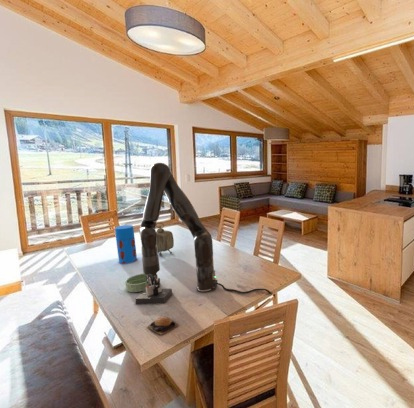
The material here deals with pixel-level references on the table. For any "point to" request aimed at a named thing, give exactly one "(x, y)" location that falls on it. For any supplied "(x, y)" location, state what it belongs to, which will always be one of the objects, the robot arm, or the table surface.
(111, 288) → the table surface
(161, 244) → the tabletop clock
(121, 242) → the thermos
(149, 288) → the red tipped lever
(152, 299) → the rotary switch dial
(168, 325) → the open sandwich
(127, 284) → the basin
